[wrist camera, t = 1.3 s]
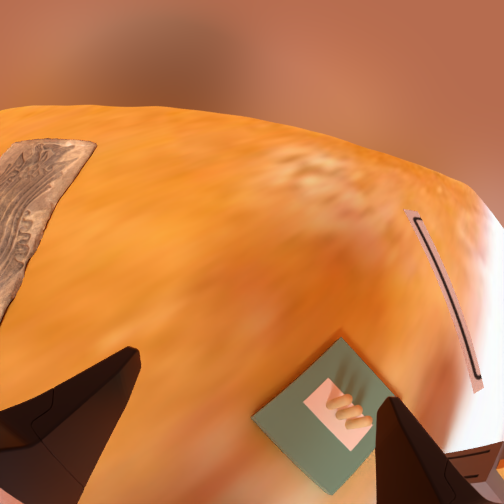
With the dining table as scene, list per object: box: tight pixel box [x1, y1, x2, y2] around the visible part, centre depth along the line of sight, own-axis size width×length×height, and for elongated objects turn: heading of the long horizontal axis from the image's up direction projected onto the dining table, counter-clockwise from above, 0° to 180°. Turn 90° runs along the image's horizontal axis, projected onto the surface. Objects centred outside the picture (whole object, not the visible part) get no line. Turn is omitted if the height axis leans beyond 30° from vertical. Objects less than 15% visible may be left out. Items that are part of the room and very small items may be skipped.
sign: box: [403, 209, 484, 393], centre depth 35 cm, size 12×1×30 cm
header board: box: [251, 337, 396, 495], centre depth 20 cm, size 11×10×4 cm
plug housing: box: [445, 441, 504, 504], centre depth 13 cm, size 3×6×13 cm, turn 41°
